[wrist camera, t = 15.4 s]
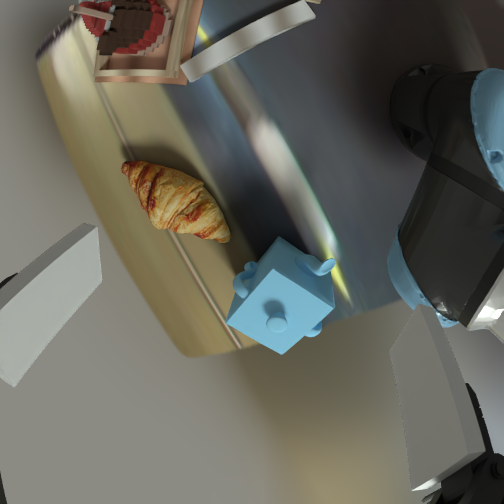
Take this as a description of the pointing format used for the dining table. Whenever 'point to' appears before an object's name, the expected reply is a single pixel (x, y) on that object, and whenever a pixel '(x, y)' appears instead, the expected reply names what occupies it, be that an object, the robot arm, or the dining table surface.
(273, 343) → the teapot
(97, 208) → the dining table surface
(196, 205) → the croissant
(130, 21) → the cake
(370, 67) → the dining table surface
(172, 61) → the square wooden frames
